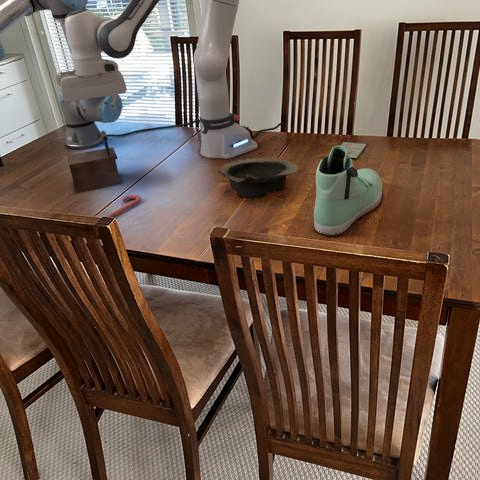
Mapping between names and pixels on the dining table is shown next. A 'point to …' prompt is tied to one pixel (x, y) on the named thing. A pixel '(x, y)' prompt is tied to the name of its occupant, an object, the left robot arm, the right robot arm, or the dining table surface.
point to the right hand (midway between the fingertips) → (98, 111)
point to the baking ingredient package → (353, 148)
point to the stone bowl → (257, 176)
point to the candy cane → (126, 205)
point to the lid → (93, 155)
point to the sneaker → (343, 192)
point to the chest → (95, 175)
